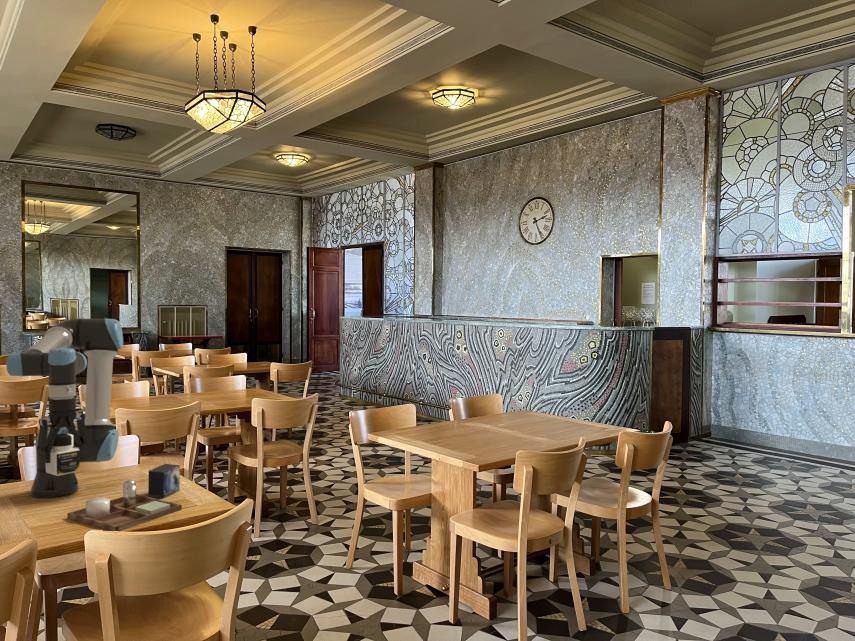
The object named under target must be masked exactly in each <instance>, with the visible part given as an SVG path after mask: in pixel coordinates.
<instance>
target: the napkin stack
mask: <svg viewBox="0 0 855 641" xmlns="http://www.w3.org/2000/svg"><path fill="white" fill-rule="evenodd" d="M168 508H170V504H166V503H162V502H158V501H153V502H150V503H147V504H144V505H141V506H137V507H136V511H138V512H142V513H146V514H150V515H151V514H153V513H156V512H159V511H162V510H165V509H168Z"/></svg>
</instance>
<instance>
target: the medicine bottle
mask: <svg viewBox="0 0 855 641" xmlns="http://www.w3.org/2000/svg"><path fill="white" fill-rule="evenodd" d="M73 446H74V442H73V435H72V434H70V433H61V434H57V436H56V439H55V442H54V444H53V447H52V448H53V449H52V450H51V452H54V473H53V475H56V476H59V475H64V474H69V473H77V472H80V471H81V469H80V468H81V467H80V466H81V465H80V450H79V449H76V448H72V447H73ZM46 473H47V467H46ZM49 474H50V473H49Z"/></svg>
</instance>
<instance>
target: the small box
mask: <svg viewBox="0 0 855 641" xmlns="http://www.w3.org/2000/svg"><path fill="white" fill-rule="evenodd" d="M180 478H181V476H180V465H179V464H171V463H163V464H162V465H159V466H157V467H155V468H152V469H149V470H148V479H147V480H148V481H147V482H148V489H147V490H148V491H147V492H148V494H147V497H150V498H155V499H159V500H161V499H162V500H164V499H165V498H168V497H170V496H172V495H174V494H176V493H178V492H180V490H181V489H180V484H181V483H180V480H181V479H180Z"/></svg>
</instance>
